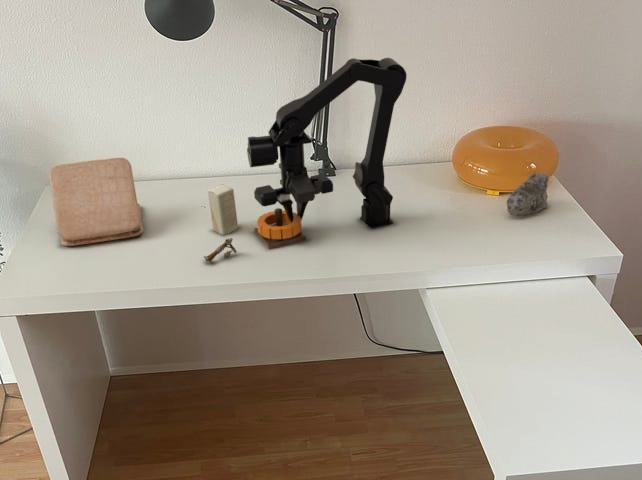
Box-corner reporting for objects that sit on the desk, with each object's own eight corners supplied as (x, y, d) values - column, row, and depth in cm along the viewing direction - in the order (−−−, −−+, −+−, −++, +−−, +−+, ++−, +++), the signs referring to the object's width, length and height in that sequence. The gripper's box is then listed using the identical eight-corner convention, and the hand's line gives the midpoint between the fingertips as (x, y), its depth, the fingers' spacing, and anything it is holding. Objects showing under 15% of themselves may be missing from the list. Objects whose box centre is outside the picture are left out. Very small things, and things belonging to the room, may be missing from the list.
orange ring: (291, 216, 194) (291, 207, 192) (307, 233, 186) (307, 223, 184) (252, 225, 191) (251, 215, 189) (267, 242, 183) (266, 233, 181)
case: (60, 250, 187) (44, 189, 178) (63, 214, 204) (48, 157, 194) (144, 239, 191) (132, 178, 181) (140, 205, 207) (129, 148, 198)
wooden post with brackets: (241, 250, 182) (232, 237, 179) (215, 271, 181) (206, 258, 177) (237, 247, 183) (228, 234, 180) (212, 268, 182) (203, 255, 179)
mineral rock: (507, 221, 192) (512, 183, 186) (493, 203, 201) (497, 167, 195) (556, 216, 194) (562, 179, 188) (540, 199, 202) (545, 162, 196)
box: (228, 223, 196) (223, 183, 190) (238, 228, 194) (234, 188, 187) (212, 230, 193) (206, 189, 187) (222, 235, 191) (217, 194, 184)
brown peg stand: (291, 224, 195) (289, 198, 191) (306, 240, 187) (305, 213, 183) (254, 232, 192) (252, 206, 187) (268, 249, 184) (266, 222, 180)
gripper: (267, 181, 171) (272, 243, 180) (342, 165, 177) (343, 226, 186) (250, 164, 179) (256, 225, 188) (322, 150, 185) (324, 209, 194)
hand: (295, 221), depth 189 cm, fingers closed on orange ring, 2 cm apart
